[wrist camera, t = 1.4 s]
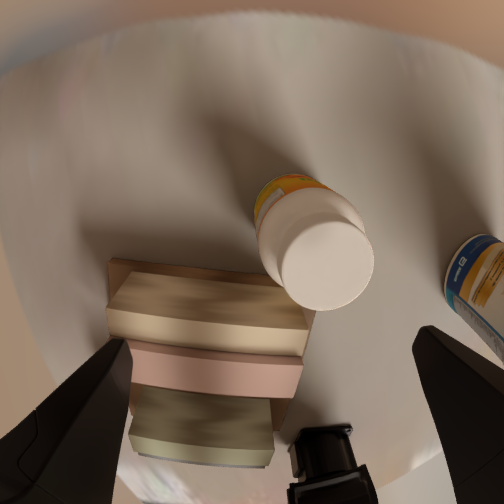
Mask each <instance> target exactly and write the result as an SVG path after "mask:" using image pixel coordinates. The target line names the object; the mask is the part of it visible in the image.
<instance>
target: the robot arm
mask: <svg viewBox="0 0 504 504" xmlns="http://www.w3.org/2000/svg"><path fill="white" fill-rule="evenodd" d="M412 352H413V356H414V359H415V363H416V366H417V370H418V374H419V377H420V381H421V385H422V388H423V391H424V394H425V397H426V400H427V402H428V405H429V408H430V411H431V414H432V417H433V420H434V423H435V426H436V429H437V432H438V435H439V438H440V441H441V444H442V448H443V451H444V454H445V458H446V461H447V465H448V469H449V472H450V476H451V480H452V484H453V487H454V493H455V497H456V501H457V504H504V370H503V369H502V368H500V367H498V366H497V365H495V364H494V363H492V362H491V361H489V360H488V359H486V358H484V357H483V356H481V355H480V354H478V353H476V352H475V351H473V350H472V349H470V348H468V347H467V346H465V345H464V344H462V343H460V342H459V341H457V340H456V339H454V338H452V337H451V336H449V335H447V334H446V333H444V332H443V331H441V330H439V329H438V328H436V327H434V326H432V325H428V326H423V327H421V328H420V329H419V331H418V334H417V336H416V338H415V340H414V342H413V345H412ZM132 370H133V358H132V355H131V351H130V348H129V345H128V342H127V340H126V339H124V338H112V339H110V340H109V341H108V342H107V343H106V344H105V345H104V346H103V347H101V348H100V349H99V350H98V351H97V352H96V353H95V354H94V355H93V356H91V357H90V358H89V359H88V360H87V361H86V362H85V363H84V364H83V365H82V366H80V367H79V368H78V369H77V370H76V371H75V372H74V373H73V374H72V375H71V376H70V377H68V378H67V379H66V380H65V381H64V382H63V383H62V384H61V385H60V386H59V387H58V388H57V389H56V390H55V391H53V392H52V393H51V394H50V395H49V396H48V397H47V398H46V399H45V400H44V401H43V402H42V403H41V404H40V405H39V406H38V407H36V410H33V411H32V412H31V413H30V414H29V415H28V416H27V417H26V418H25V419H24V420H22V421H21V422H20V423H19V424H18V425H17V426H16V427H15V428H13V429H12V430H11V431H10V432H9V433H7V434H6V435H5V436H4V437H2V438H1V439H0V504H112V497H113V489H114V483H115V477H116V471H117V465H118V459H119V454H120V448H121V443H122V438H123V433H124V428H125V423H126V418H127V413H128V407H129V397H130V388H131V379H132ZM352 431H353V428H352V426H343V427H330V428H311V429H302V430H301V431H300V433H299V435H298V438H297V440H296V441H295V442H294V443H293V445H292V448H291V450H290V458H291V465H292V472H293V477H294V478H298V483H290V484H289V485H290V488H289V489H287V498H288V504H378V498H377V494H376V491H375V488H374V485H373V482H372V480H371V477H370V475H369V472H368V470H367V467H366V464H363V465H361V466H359V467H357V463H356V460H355V457H354V453H353V450H352V447H351V444H350V440H349V436H350V434H351V432H352Z"/></svg>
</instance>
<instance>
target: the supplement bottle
mask: <svg viewBox="0 0 504 504" xmlns="http://www.w3.org/2000/svg"><path fill="white" fill-rule="evenodd" d="M254 222H255V229H256V236H257V242H258V249H259V254H260V257H261V260H262V263H263V265H264V267H265V269H266V271H267V272H268V274H269V275H270V276H271V277H272V279H273V280H274V281H276V282H277V283H278V284H279V285H281V286H282V287H284V289H285V290H286V292H287V293H288V295H289V296H290V297H291V298H292V299H293V300H294V301H295V302H296V303H298V304H299V305H301V306H303V307H305V308H308V309H312V310H319V311H325V310H332V309H336V308H339V307H342V306H344V305H346V304H348V303H349V302H351V301H352V300H354V299H355V298H356V297H357V296H358V295H359V294H360V293H361V292H362V291H363V290H364V289H365V287H366V286H367V284H368V282H369V280H370V278H371V275H372V272H373V267H374V254H373V249H372V246H371V244H370V242H369V240H368V238H367V237H366V235H365V230H364V226H363V222H362V220H361V217H360V215H359V214H358V212H357V211H356V209H355V208H354V207H353V205H352V204H351V203H350V202H349V201H347V200H346V199H345V198H344V197H343V196H341V195H339V194H338V193H336V192H334V191H333V190H331V189H330V188H328V187H327V186H325V185H323V184H321V183H320V182H318V181H316V180H314V179H312V178H311V177H308V176H305V175H302V174H285V175H281V176H279V177H277V178H275V179H273V180H271V181H270V182H269V183H268V184H266V185H265V186H264V188H263V189H262V190H261V191H260V193H259V195H258V197H257V199H256V202H255V207H254Z"/></svg>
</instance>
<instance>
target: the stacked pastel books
mask: <svg viewBox="0 0 504 504" xmlns="http://www.w3.org/2000/svg"><path fill="white" fill-rule="evenodd" d="M108 277H109V288H110V298H111V301H110V302H109V304H108V305H107V307H106V314H107V322H108V328H109V335H110V337H109V338H108V340H107V342H108V341H109V340H110V339H112V338H124V339H126V340H127V342H128V345H129V348H130V351H131V355H132V358H133V370H132V379H131V388H130V397H129V408H130V412H131V415H132V416H133V419H132V423H131V426H130V429H129V432H128V436H129V439H130V442H131V445H132V448H133V451H134V452H138V454H139V455H141V456H146V457H151V458H156V459H162V460H168V461H174V462H181V463H189V464H197V465H207V466H218V467H233V468H265V466H269V464H270V461H271V458H272V456H273V453H274V451H275V449H274V439H273V431H279V430H280V428H281V425H282V422H283V419H284V416H285V413H286V410H287V407H288V404H289V401H290V398H293V397H294V394H295V391H296V388H297V385H298V382H299V379H300V376H301V373H302V369H303V366H304V365H303V361H302V359H303V356H304V353H305V349H306V346H307V342H308V339H309V335H310V331H311V328H312V324H313V320H314V317H315V313H316V310H312V309H308V308H305V307H303V306H301V305H299V304H298V303H296V302H295V301H294V300H293V299H292V298H291V297H290V296H289V295H288V293H287V292H286V290H285V289H284V287H282V286H281V285H279V284H278V283H277V282H276V281H274V280H273V279H272V277H271V276H270V275H260V274H250V273H240V272H230V271H221V270H211V269H202V268H193V267H184V266H175V265H166V264H157V263H148V262H140V261H132V260H123V259H115V258H112V259H111V260H110V261H109V262H108ZM107 342H106V343H107Z"/></svg>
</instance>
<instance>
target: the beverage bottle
mask: <svg viewBox="0 0 504 504" xmlns="http://www.w3.org/2000/svg"><path fill="white" fill-rule="evenodd" d="M444 293H445V298H446V301H447V303H448V305H449V306H450V307H451V308H452V309H453V310H454V311H455V312H456V313H457V314H458V315H460V316H461V317H462V318H463V319H464V321H465V322H466V323H467V324H468V325H469V326H470V327H471V328H472V329H473V330H474V331H475V332H476V333H477V334H478V335H479V336H480V337H481V338H482V340H483V341H484V342H485V343H486V344H487V345H488V346H489V347H490V348H491V350H492V351H493V352H494V353H495V354H496V355H497V356H498V357H499V359H500V360H501V361H502V362H503V365H504V243H503V242H501V241H500V240H498V239H497V238H495V237H493V236H491V235H488V234H479V235H476V236H474V237H472V238H470V239H469V240H467V241H466V242H465V243H464V244H463V245H462V246H461V247H460V248H459V249H458V251H457V252H456V253H455V255H454V257H453V258H452V260H451V262H450V264H449V267H448V269H447V273H446V276H445V282H444Z"/></svg>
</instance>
